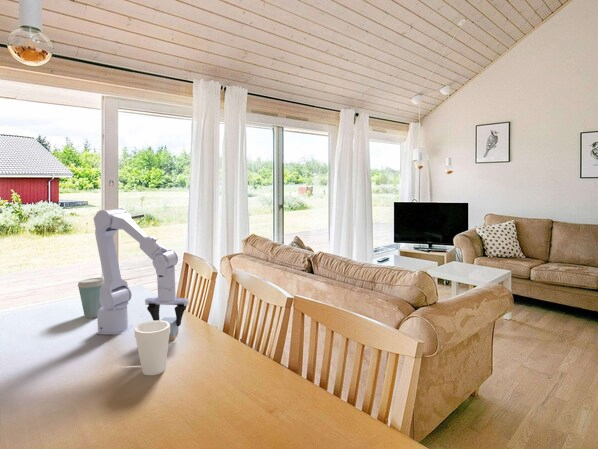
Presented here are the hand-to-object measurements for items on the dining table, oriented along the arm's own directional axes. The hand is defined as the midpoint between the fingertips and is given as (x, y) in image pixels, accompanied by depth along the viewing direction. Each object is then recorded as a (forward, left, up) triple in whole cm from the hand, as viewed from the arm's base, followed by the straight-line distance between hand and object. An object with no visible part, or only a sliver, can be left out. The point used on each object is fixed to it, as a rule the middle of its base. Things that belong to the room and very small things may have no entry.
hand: (167, 325), depth 133 cm
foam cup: (+5, -22, -5) cm, 23 cm away
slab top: (0, 0, -4) cm, 5 cm away
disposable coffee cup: (-39, +20, -5) cm, 44 cm away
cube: (0, 0, -3) cm, 3 cm away
